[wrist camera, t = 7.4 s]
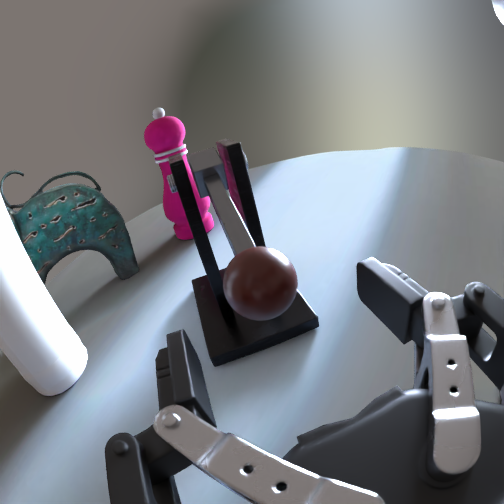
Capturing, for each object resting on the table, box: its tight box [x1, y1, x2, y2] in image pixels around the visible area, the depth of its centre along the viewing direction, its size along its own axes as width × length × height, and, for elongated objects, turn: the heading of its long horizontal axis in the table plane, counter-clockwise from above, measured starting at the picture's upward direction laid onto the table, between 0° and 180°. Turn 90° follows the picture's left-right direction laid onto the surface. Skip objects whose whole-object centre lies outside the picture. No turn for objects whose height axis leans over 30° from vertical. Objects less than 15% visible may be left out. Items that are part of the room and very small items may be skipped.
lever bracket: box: [167, 139, 319, 367], centre depth 24 cm, size 12×9×15 cm
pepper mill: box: [144, 108, 214, 240], centre depth 42 cm, size 7×7×20 cm
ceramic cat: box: [0, 171, 139, 286], centre depth 31 cm, size 20×6×20 cm, turn 131°
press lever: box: [187, 147, 298, 321], centre depth 18 cm, size 14×4×4 cm, turn 16°
